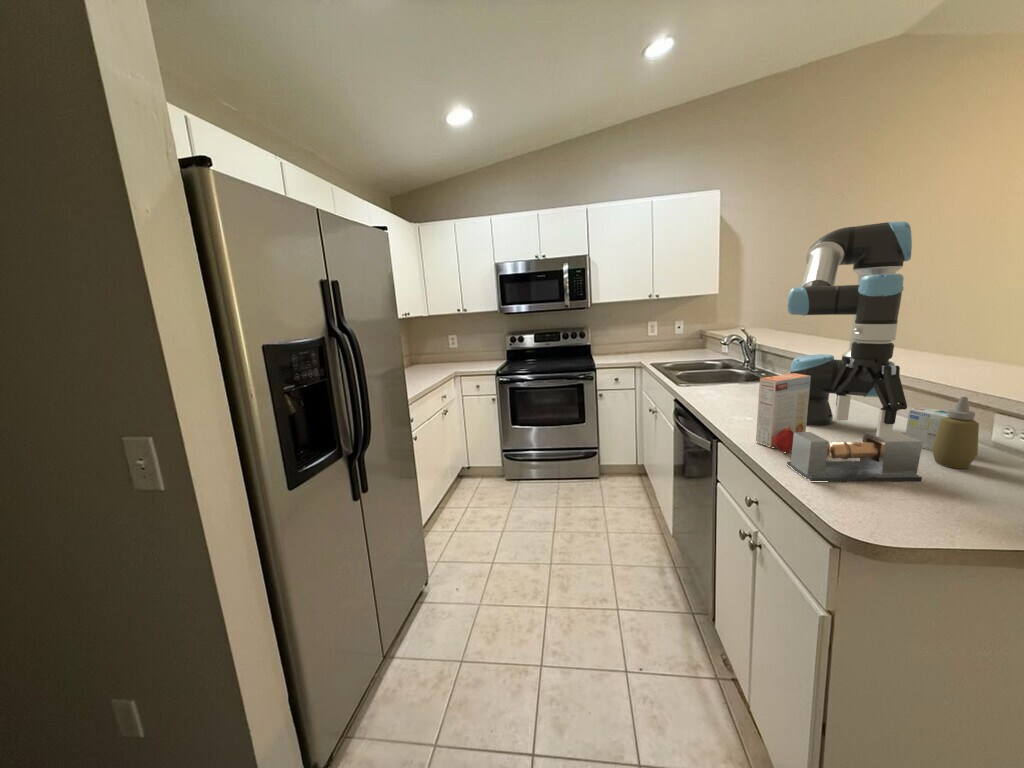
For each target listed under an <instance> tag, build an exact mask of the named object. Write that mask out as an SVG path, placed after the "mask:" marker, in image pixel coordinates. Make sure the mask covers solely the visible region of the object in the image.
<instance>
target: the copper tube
mask: <svg viewBox="0 0 1024 768" xmlns="http://www.w3.org/2000/svg"><path fill="white" fill-rule="evenodd" d="M881 445H882V444H881V443H878V442H862V441H851V442H849V441H848V442H847V441H837V442H829V443H828V451H827V458H828V459H831V460H832V459H834V460H835V459H836V460H838V459H839V460H849V459H850V460H851V459H860V458H880V451H881Z"/></svg>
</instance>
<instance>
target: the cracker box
mask: <svg viewBox="0 0 1024 768" xmlns="http://www.w3.org/2000/svg"><path fill="white" fill-rule="evenodd" d="M810 380H811V376H808V375H802V374H796V373H792V374H791V373H786V374H780V375H779V374H778V375H773V376H766V377H760V378H759V388H758V402H757V403H758V404H757V419H756V422H757V423H756V431H755V433H756V435H755V442H756V441H757V442H759V443H762V444H765V445H767V446H770V447H776V445H775V443H774V438H775V436H776V434H777V433H778V432H779V431H781V430H783V429H785V428H786V427H790V428H791V431H793V432H807V425H806V423H807V412H808V401H809V391H810ZM776 448H777V447H776Z"/></svg>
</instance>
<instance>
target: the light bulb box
mask: <svg viewBox="0 0 1024 768" xmlns="http://www.w3.org/2000/svg"><path fill="white" fill-rule="evenodd" d="M947 413H948V410H944V409H937V408H932V407H928V406H921V407H913V408H909V410H908V417H907V422H906V428H905V435H907V436H910V437H913V438H915V439H918V440H921V441H923V442H922V447H921V449H926V450H929V451H932V448H931V447H932V444H933V441H934V438H935V435H936V432H937V430H938V427H939V424H940V421H941V419H942V418H944V417H948V416H947Z"/></svg>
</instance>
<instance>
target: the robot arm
mask: <svg viewBox="0 0 1024 768" xmlns="http://www.w3.org/2000/svg"><path fill="white" fill-rule="evenodd" d="M912 238H913V237H912V227H911V225H910V224H909V222H907V221H888V222H880V223H873V224H863V225H857V226H847V227H842V228H838V229H835V230H832V231H830V232H829V233H827V234H825V235H823V236H822V237H820V238H819V239H818V240H816V241H815V242H814V243H813V244H812V245H811V246H810V248H809V249H808V251H807V253H806V257H805V262H806V264H807V266H806V270H805V273H804V276H803V280H802V283H801V286H798V287H793V288H791V289H790V290H789V292H788V297H787V298H788V299H787V313H788V314H789V315H790V316H791V315H795V316H802V317H804V316H829V315H831V316H833V315H834V316H837V315H838V316H840V315H843V316H845V315H848V316H849V315H850V316H851V315H852V323H851V331H850V339H849V346H848V350H846V351H845V352H844V353H842V355H841V359H835V357H834V355H833V354H810V355H809V354H807V355H802V356H797V357H795V358H794V359H792V360H791V361H792V362H791V367H790V370H789V372H790V374H792V373H796V374H802V375H808V376H811V380H810V391H809V401H808V412H807V423H806V426H814V427H817V426H818V427H820V426H822V427H823V426H829V425H832V424H833V420H835V421H848V420H849V412H850V406H851V397H852V396H858V397H863V398H866V397H867V398H869V397H870V398H871V397H873V398H878V399H879V401H880V404H881V406H882V407H881V408H880V409H879V413H878V420H877V426H876V427H877V428H876V431H875V432H876V436H877V437H891V435H892V432H893V427H894V424H895V423H896V417H897V412H898V411H899V410H907V409H908V404H907V400H906V397H905V392H904V389H903V384H902V380H901V377H900V372H901V371H900V369H901V367H900V366H899V365H896V364H895V362H893V361H890V359H892V358H893V356H894V355H893V354H894V350H895V349H894V347H895V344H894V343H893V341H895V340H896V337H897V331H898V322H899V321H898V318H899V312H900V308H901V303H902V294H903V291H904V289H905V288H904V275H903V274H901V273H897V272H898V271H900V270H901V269H903V267H904V262H908V261H910V260H911V258H912V250H913V249H912V248H913V246H912V245H913V242H912V241H913V239H912ZM845 265H846V266H849V265H851V266H853V267H852V271H853V272H854V273H856V275H858V276H857V284H851V285H850V284H849V285H847V284H846V285H845V284H844V285H835V284H836V279H837V273H838V269H839V266H845ZM830 394H834V395H836V400H835V405H836V406H835V414H834V417H833V412H832V407H831V405H830V402H829V401H830V400H829V398H830ZM833 418H834V419H833Z"/></svg>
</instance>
